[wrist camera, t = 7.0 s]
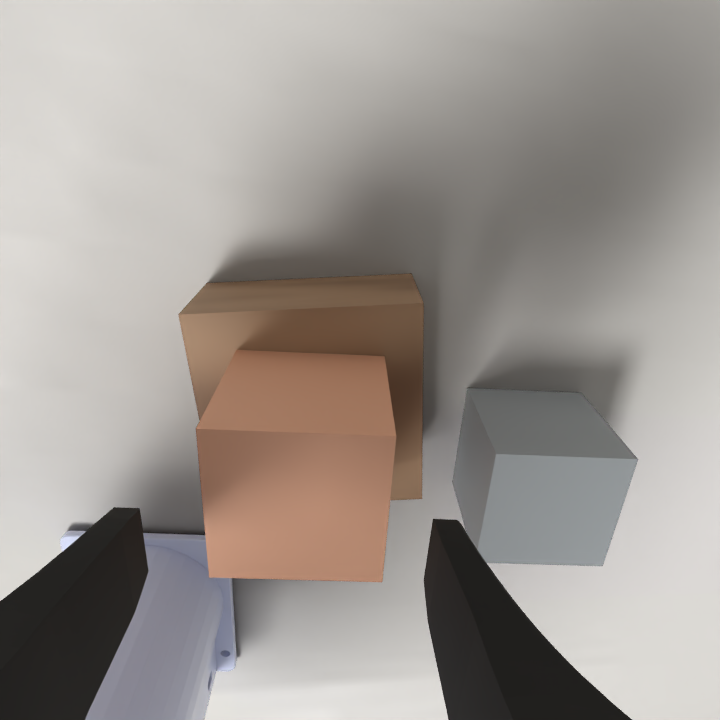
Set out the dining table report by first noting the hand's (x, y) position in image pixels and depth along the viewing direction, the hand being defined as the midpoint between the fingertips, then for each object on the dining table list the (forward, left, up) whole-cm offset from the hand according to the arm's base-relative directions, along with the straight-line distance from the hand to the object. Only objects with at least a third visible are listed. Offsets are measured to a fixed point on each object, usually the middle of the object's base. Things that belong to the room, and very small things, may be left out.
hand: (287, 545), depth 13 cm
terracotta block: (0, 0, -6) cm, 6 cm away
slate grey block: (-3, -9, -10) cm, 14 cm away
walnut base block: (0, 0, -10) cm, 10 cm away
